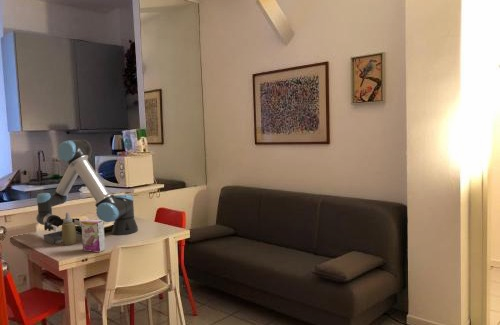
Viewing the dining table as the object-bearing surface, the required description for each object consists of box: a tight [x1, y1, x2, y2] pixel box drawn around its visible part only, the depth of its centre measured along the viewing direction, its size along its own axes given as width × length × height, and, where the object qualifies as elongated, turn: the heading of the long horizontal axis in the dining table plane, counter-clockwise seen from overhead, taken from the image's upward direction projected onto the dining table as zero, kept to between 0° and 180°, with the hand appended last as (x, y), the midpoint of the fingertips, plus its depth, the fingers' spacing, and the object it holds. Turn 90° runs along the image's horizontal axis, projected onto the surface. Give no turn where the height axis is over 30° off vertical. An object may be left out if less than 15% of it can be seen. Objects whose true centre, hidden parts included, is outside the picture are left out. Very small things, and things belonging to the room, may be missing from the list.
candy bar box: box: [80, 219, 106, 252], centre depth 225 cm, size 11×5×16 cm, turn 71°
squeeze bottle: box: [61, 212, 78, 246], centre depth 239 cm, size 8×8×18 cm
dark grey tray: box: [43, 230, 63, 245], centre depth 248 cm, size 13×13×4 cm
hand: (68, 226), depth 238 cm, fingers open, 13 cm apart
